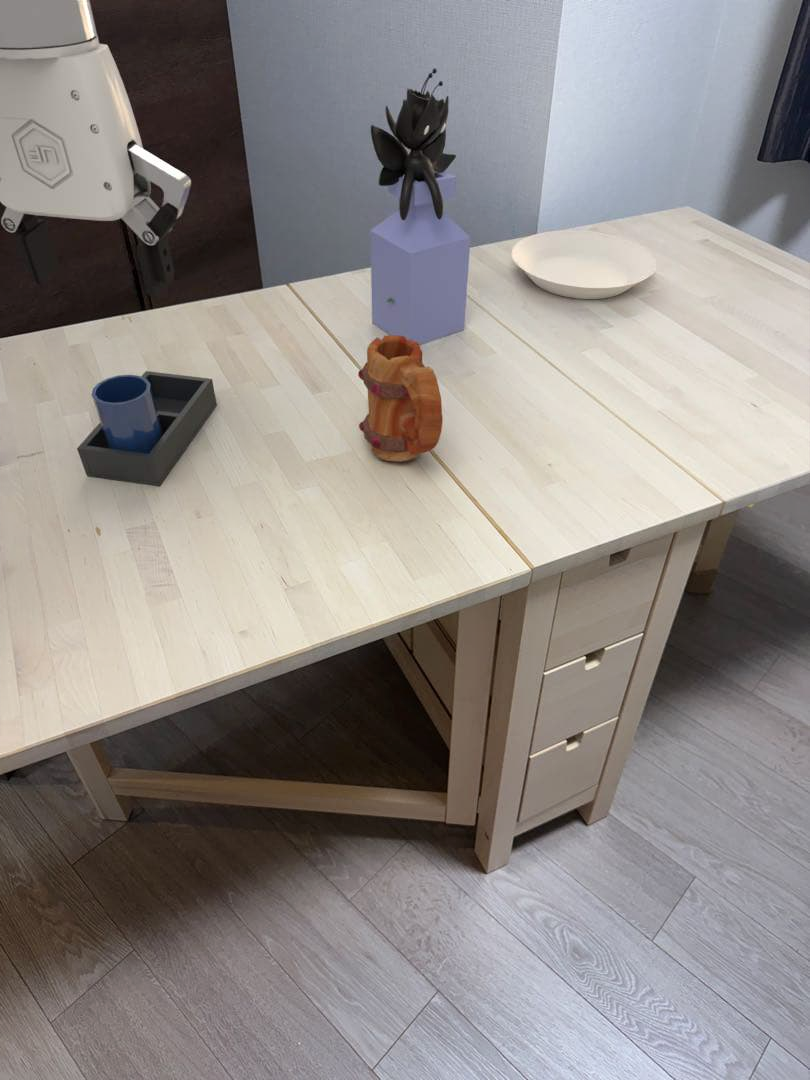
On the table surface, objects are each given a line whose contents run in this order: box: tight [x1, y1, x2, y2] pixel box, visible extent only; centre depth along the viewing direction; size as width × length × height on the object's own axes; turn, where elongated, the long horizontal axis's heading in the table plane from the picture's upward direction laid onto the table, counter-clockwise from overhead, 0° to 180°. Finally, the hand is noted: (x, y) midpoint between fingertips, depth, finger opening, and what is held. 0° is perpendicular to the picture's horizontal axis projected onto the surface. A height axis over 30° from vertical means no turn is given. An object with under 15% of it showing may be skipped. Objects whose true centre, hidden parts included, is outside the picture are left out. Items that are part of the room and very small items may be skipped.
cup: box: [91, 374, 163, 454], centre depth 88 cm, size 6×6×9 cm
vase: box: [369, 68, 472, 346], centre depth 105 cm, size 14×12×35 cm
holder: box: [76, 370, 218, 487], centre depth 94 cm, size 9×18×4 cm, turn 169°
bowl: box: [511, 229, 658, 300], centre depth 131 cm, size 25×25×4 cm
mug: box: [357, 334, 443, 462], centre depth 87 cm, size 15×8×15 cm, turn 25°
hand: (103, 283), depth 58 cm, fingers open, 9 cm apart
